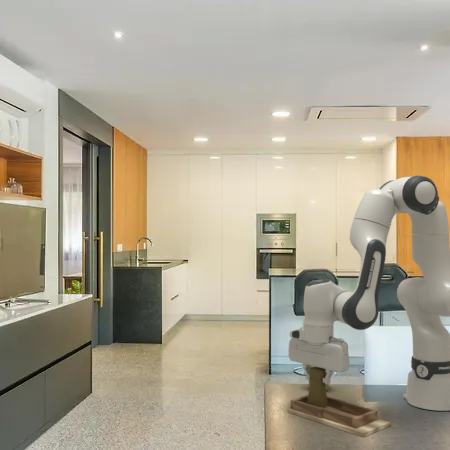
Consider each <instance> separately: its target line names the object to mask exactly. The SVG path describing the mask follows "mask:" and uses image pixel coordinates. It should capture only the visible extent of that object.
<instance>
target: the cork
mask: <svg viewBox="0 0 450 450" xmlns="http://www.w3.org/2000/svg"><path fill="white" fill-rule="evenodd" d="M326 375H327V373H326V370H325V369H324V368H320V367H312V368H310V370H309V376H310V378H311V380H310V387H309V388H308V394H307V395H308V401H307V404H310V405H314V406H317V407H320V408H321V407H323V408H325V407H327V406H328V402H327V396H328V395H327V391H326V386H325V384H323V377H326Z"/></svg>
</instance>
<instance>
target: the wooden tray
mask: <svg viewBox="0 0 450 450" xmlns="http://www.w3.org/2000/svg"><path fill="white" fill-rule="evenodd" d="M307 401H308V394H307V395H303V396H301V397H297V398H293V399H290V407H289V408H288V409H287V413H289V414H292V415H293V416H294V415H295V416H298V417H301V418H303V419H307V420H310V421H313V422H316V423H318V424H319V423H320V424H322V425H326V426H328V427H331V428H335V429H337V430H341V431H344V432H346V433H350V434H353V435H356V436H359V437H362V438H365V437H367V436H370V435H372V434H375V433H377V432H379V431H382V430H383V429H386V428H389V427H390V426H391V425H392V424H391V423H392V422H391V421H388V420H385V419H382V418H378V415H379V414H378V413H379V412H378V410H375V409H372V408H368V407H365V406H362V405H361V406H360V405H357V404H353V403H351V402H347V401H345V400H341V399H338V398H335V397H331V396H328V395H327V402H328V406H327V407H325V408H323V407H321V408H320V407H317V406H314V405H310V404H307Z"/></svg>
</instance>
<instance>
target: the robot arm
mask: <svg viewBox="0 0 450 450" xmlns="http://www.w3.org/2000/svg"><path fill="white" fill-rule="evenodd" d="M446 208H447V207H446V206H445V204H444V203H443V202H442V201H440V197H439V193H438V187H437V186H436V184H435V182H434V181H433V180H432V179H431V178H429V177H427V176H423V175H413V176H403V177H400V178H398V179H394V180H389V181H386V182H385V183H383V184H382V185H381V186H380V187H379V188H372V189H368V191H366V192H365V193H364V194H363V196H362V198H361V200H360V201H359V205H358V207H357V208H356V210H355V214H354V216H353V220H352V223H351V227H350V231H349V241H350V244H351V245H352V247H353V248H354V249H355V250H356V251H357V253H358V254H359V257H360V260H361V263H360V270H359V273H358V274H359V275H358V277H357V278H358V279H357V283H356V288H355V290H354V291H352V290H348V289H345V288H343V287H341V286H339V285H337V284H336V283H334V282H332V280H331V279H327V278H321V279H314V280H311V281H309V282H308V283H307V284H306V285H305V288H304V294H303V312H304V320H303V323H302V324H303V326H302V327H300V328H298V329H296V328H295V329H293V330H290V331H289V338H290V339H289V342H288V358H289V360H290V361H291V362H295V363H298V364H299V363H300V364H302V369H303V371H304V373H305V379H306V380H308V381H309V380H311V378H310V376H309V370H310V368H309V367H311V366H315V367H320V368H324V369H326V373H327V375H326V377H323V384H327V385H328V384H329V385H330V384H331V378H332V376H333V375H334V373H335V372H337V373H345V372H348V371H349V369H350V367H351V365H350V357H349V344H348V343H347V342H346V340H345V339H343V338H337V337H334V327H335V326H334V324H335V323H334V322H340V323H343V324H346V325H348V326H349V327H351V328H352V329H355V330H358V331H364V330H367V329H369V328H371V327H372V326H373V325H374V324H375V323H376V321H377V319H378V316H379V311H380V310H379V309H380V308H379V307H380V306H379V292H380V287H381V283H382V278H383V274H384V268H385V263H386V255H387V249H386V248H387V247H386V246H387V240H388V236H389V233H390V229H391V225H392V221H393V218H394V217H395V216H396V215H397V214H407V215H408V216H409V218H410V220H411V221H410V222H411V257H412V260H413V262H414V263H415V264H416V265H417V266H418V268H419V269H420V271H421V274H422V276H421V277H420V276H417V277H411V278H410V277H409V278H405V279H404V280H402V281H401V282H400V283H399V284H398V287H397V290H396V297H397V300H398V302H399V304H400V305H401V306H402V307H403V309H404V310H405V313H406V314H407V317H408V321H409V324H410V327H411V333H412V334H411V335H412V356H411V359H410V364H411V366H410V367H411V371H409V372H408V374H407V384H406V393H403V395H402V398H403V399H405V400H406V401H407V403H408V404H409V405H411V406H413V407H416V408H419V409H424V410H429V411H445V412H447V411H448V412H449V411H450V332H449V330H448V329H447V328H446V327H445V326H444V324H443V322H442V321H441V317H450V226H449V217H448V213H447V209H446ZM440 316H441V317H440Z"/></svg>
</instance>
